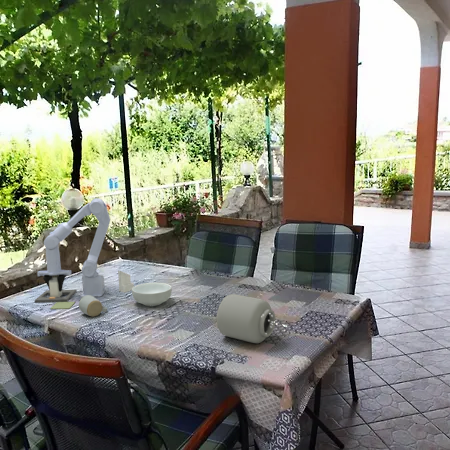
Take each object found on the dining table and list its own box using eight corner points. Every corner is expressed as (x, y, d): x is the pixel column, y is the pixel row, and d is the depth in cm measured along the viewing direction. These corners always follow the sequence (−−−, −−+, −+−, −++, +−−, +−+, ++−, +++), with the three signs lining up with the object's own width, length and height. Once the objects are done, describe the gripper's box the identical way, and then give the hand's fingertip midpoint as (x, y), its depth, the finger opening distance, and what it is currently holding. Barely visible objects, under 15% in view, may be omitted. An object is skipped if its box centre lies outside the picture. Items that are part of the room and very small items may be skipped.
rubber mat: (75, 302, 201) (75, 301, 201) (69, 308, 193) (69, 308, 193) (56, 302, 201) (56, 302, 201) (50, 309, 193) (50, 308, 193)
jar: (249, 309, 174) (305, 315, 157) (236, 346, 168) (292, 357, 151) (219, 286, 163) (275, 290, 146) (203, 324, 157) (260, 333, 139)
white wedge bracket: (111, 288, 211) (118, 270, 214) (126, 294, 219) (132, 276, 222) (117, 290, 209) (123, 271, 212) (131, 295, 217) (137, 277, 220)
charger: (62, 294, 211) (60, 277, 210) (58, 297, 206) (57, 280, 205) (54, 294, 211) (52, 277, 210) (50, 298, 206) (48, 280, 205)
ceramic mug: (87, 319, 181) (86, 301, 180) (78, 314, 186) (77, 296, 185) (111, 313, 187) (110, 295, 186) (101, 308, 193) (101, 291, 192)
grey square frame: (76, 292, 216) (76, 288, 215) (66, 302, 202) (66, 298, 201) (46, 292, 215) (46, 289, 215) (34, 302, 202) (34, 299, 201)
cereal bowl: (180, 302, 198) (179, 286, 197) (149, 313, 186) (148, 296, 185) (155, 294, 210) (154, 279, 209) (124, 304, 198) (123, 288, 197)
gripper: (33, 264, 202) (36, 294, 204) (66, 263, 202) (69, 293, 204) (39, 260, 209) (42, 289, 211) (71, 259, 209) (74, 288, 211)
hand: (56, 290), depth 208 cm, fingers closed on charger, 4 cm apart
